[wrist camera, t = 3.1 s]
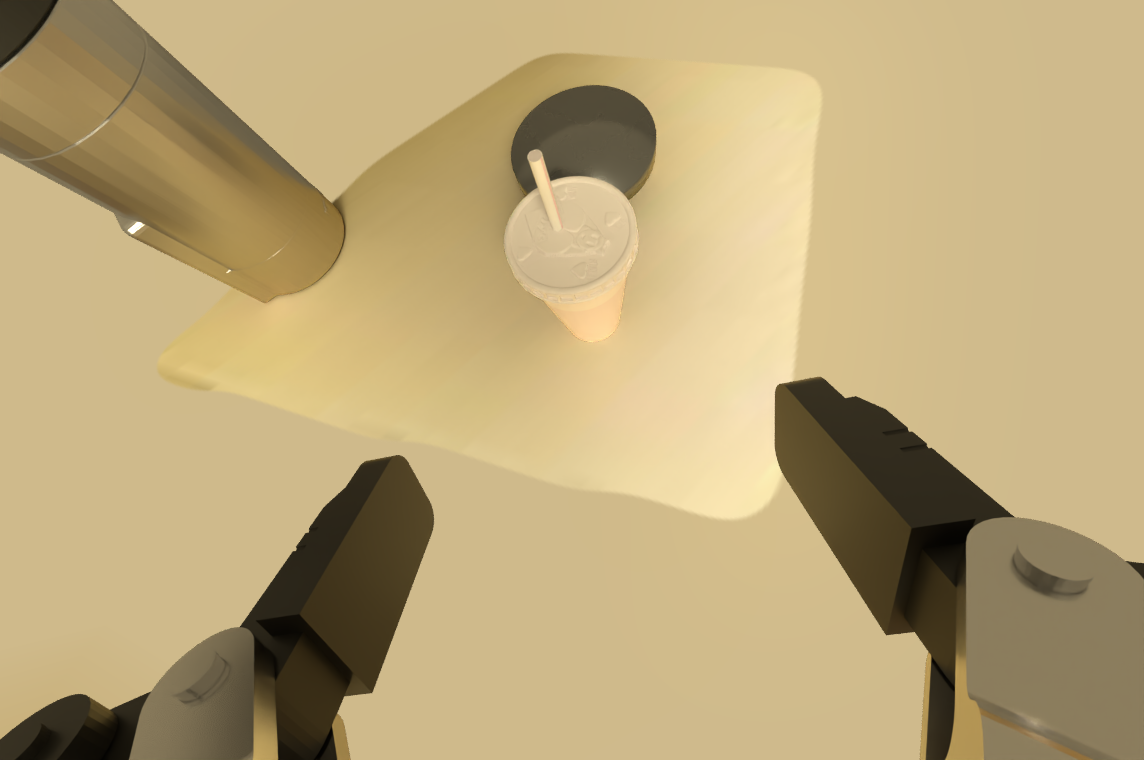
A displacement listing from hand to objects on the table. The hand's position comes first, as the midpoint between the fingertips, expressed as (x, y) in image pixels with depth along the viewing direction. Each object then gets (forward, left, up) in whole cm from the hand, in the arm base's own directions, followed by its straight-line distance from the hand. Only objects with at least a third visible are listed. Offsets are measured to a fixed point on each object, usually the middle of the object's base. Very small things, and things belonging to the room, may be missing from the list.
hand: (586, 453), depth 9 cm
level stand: (+12, +18, -17) cm, 28 cm away
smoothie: (+5, +9, -17) cm, 20 cm away
